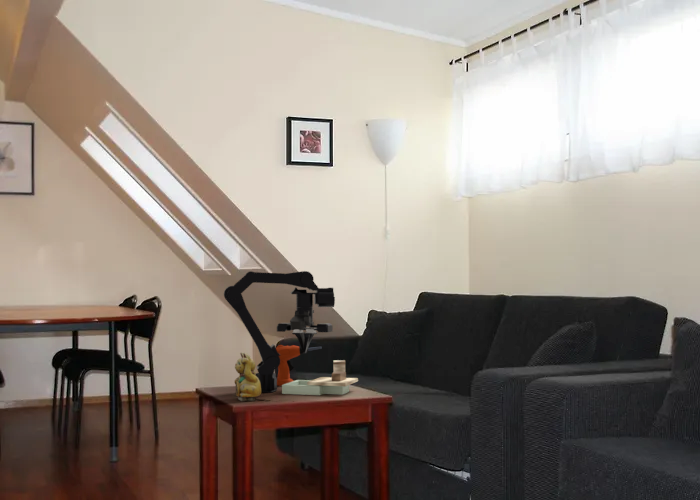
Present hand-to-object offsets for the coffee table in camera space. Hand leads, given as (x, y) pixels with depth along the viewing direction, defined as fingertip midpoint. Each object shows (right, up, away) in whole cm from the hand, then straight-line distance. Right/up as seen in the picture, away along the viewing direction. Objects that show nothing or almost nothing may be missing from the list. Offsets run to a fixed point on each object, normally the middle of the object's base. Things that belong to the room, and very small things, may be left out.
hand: (304, 352), depth 294 cm
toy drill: (-4, -14, +15) cm, 21 cm away
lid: (+10, -9, -13) cm, 18 cm away
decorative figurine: (-17, -13, -21) cm, 30 cm away
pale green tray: (+5, -13, -11) cm, 18 cm away
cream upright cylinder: (+12, -13, +1) cm, 18 cm away
